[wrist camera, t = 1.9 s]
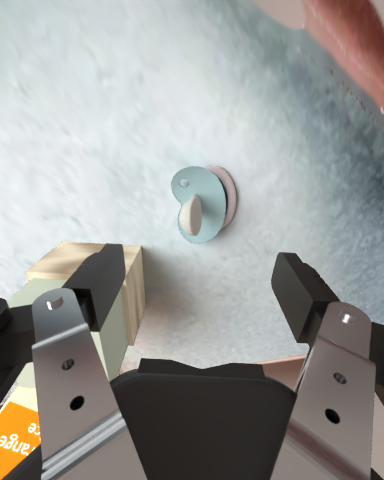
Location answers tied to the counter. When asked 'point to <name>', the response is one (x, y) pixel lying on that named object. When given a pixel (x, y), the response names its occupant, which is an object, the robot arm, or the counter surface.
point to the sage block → (106, 341)
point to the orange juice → (18, 428)
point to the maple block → (70, 258)
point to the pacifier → (203, 202)
